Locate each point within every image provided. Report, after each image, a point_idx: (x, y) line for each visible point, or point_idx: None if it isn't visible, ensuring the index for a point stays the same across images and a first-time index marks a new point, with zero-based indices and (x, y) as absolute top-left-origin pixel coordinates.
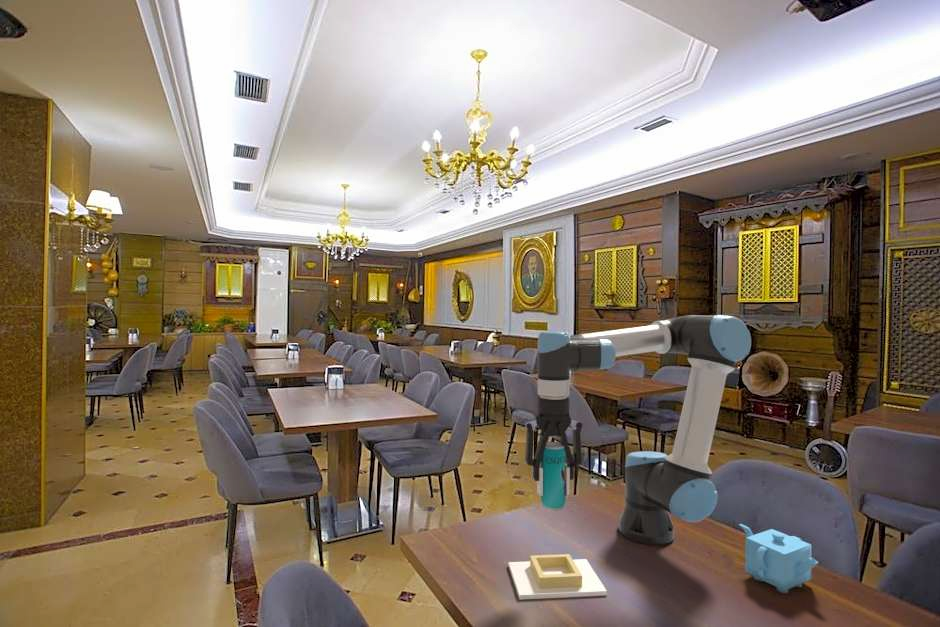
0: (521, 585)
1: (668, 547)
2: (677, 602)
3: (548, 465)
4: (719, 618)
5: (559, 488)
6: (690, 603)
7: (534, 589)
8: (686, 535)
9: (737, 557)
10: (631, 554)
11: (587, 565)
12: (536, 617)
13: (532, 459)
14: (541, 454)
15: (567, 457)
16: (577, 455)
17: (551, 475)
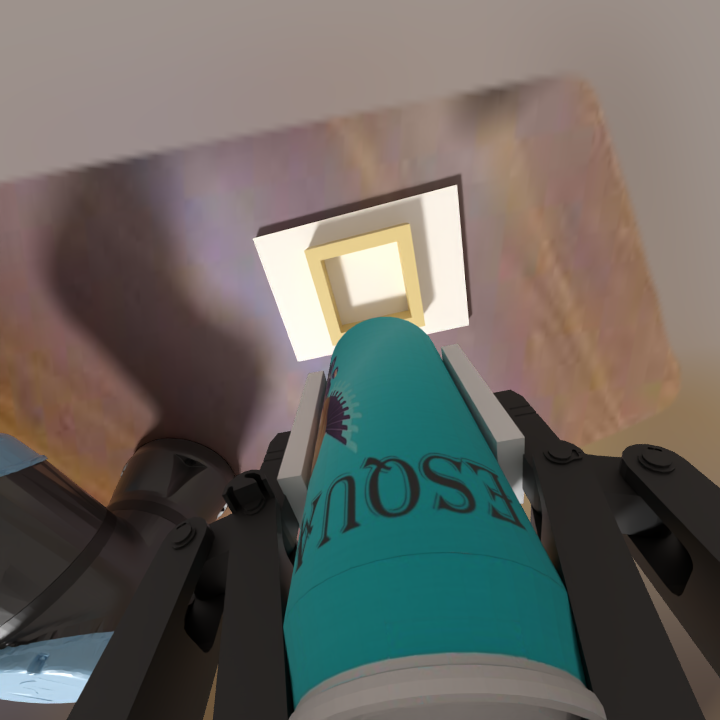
0: (448, 229)
1: (140, 434)
2: (107, 234)
3: (464, 448)
4: (15, 183)
5: (359, 355)
6: (80, 235)
7: (418, 217)
8: (111, 476)
9: (12, 417)
10: (209, 401)
11: (295, 337)
12: (419, 111)
13: (656, 494)
14: (584, 563)
15: (275, 561)
16: (168, 595)
17: (420, 391)
